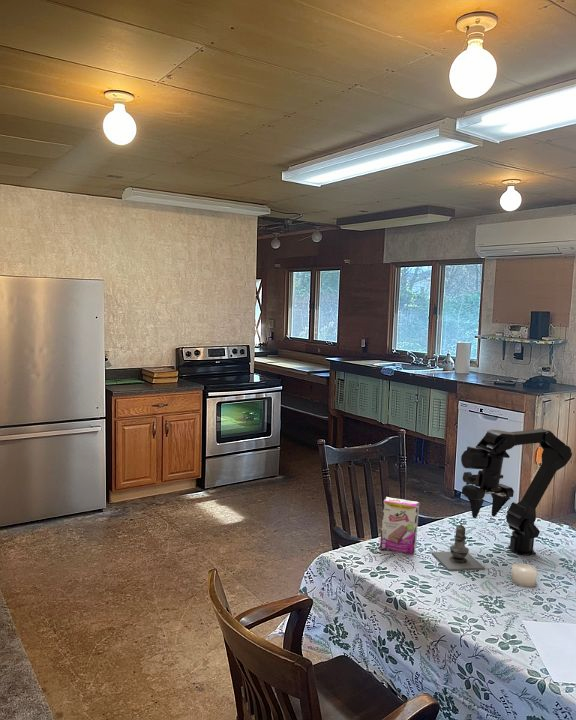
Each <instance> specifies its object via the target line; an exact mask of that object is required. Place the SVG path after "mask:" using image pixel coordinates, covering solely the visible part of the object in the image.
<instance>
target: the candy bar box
mask: <svg viewBox="0 0 576 720" xmlns="http://www.w3.org/2000/svg"><path fill="white" fill-rule="evenodd" d="M382 504H383V506H382V518H381V519H382V520H381V529H380V530H381V533H380V541H379V542H380V543H379V548H380V550H387V551H391V552H395V553H396V552H397V553H401V554H402V553H403V554H407V555H411V556H414V555H415V551H416V548H417V538H418V537H417V536H418V525H419V511H420V502H418V501H415V500H414V501H413V500H408V499H403V498H395V497H389V496H385V498H384V500H383V502H382Z"/></svg>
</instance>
